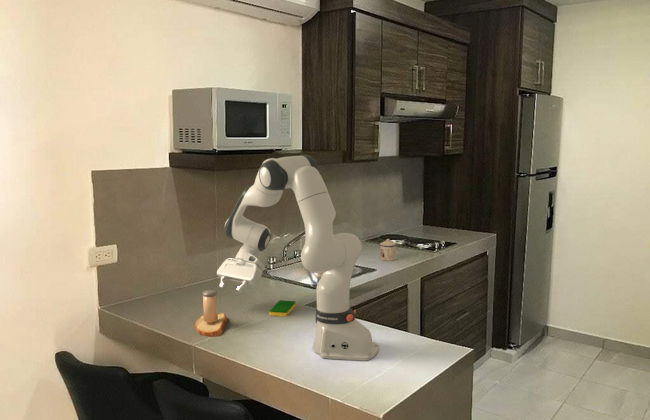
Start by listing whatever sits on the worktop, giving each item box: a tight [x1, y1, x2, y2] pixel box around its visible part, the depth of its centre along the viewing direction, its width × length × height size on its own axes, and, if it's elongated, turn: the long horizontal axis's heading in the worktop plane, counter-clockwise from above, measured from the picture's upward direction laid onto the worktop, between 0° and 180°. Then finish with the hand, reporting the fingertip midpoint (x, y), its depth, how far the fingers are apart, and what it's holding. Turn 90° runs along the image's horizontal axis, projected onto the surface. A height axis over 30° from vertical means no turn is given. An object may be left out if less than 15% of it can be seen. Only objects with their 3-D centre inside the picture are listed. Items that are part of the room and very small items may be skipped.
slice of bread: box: [194, 312, 228, 338], centre depth 212 cm, size 18×18×4 cm
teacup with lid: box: [379, 238, 397, 262], centre depth 313 cm, size 12×9×12 cm
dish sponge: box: [269, 299, 296, 317], centre depth 230 cm, size 7×14×2 cm, turn 167°
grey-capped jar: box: [201, 289, 219, 322], centre depth 211 cm, size 5×5×11 cm
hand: (229, 289), depth 220 cm, fingers open, 8 cm apart
